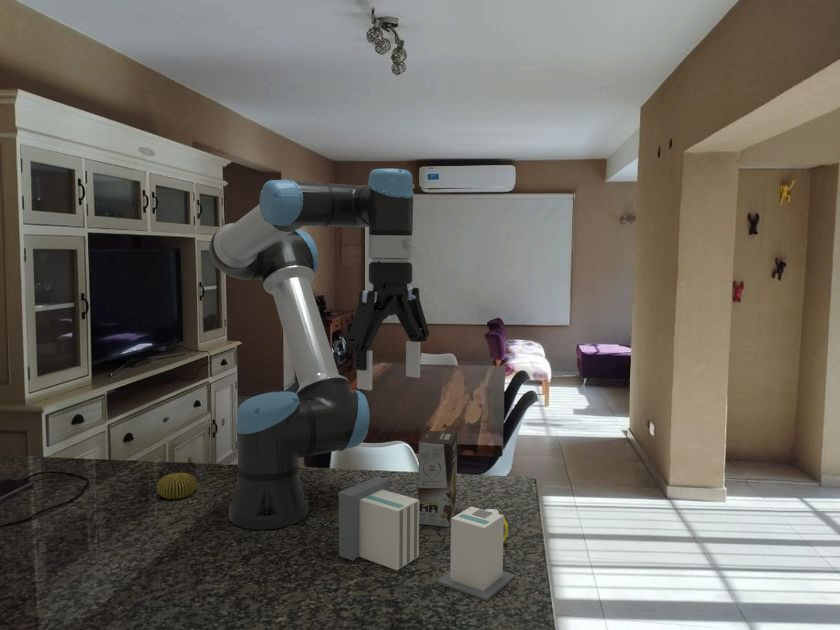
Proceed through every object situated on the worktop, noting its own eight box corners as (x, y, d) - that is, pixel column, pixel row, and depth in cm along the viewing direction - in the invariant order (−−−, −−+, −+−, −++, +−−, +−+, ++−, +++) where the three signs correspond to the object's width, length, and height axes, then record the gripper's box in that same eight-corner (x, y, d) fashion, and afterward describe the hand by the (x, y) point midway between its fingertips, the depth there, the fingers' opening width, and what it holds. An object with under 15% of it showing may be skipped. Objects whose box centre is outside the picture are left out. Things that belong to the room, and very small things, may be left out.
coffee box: (450, 527, 125) (451, 444, 123) (416, 524, 126) (417, 441, 124) (457, 509, 134) (458, 431, 132) (425, 506, 135) (426, 428, 133)
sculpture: (192, 468, 145) (200, 479, 138) (193, 485, 146) (200, 497, 139) (153, 473, 141) (159, 485, 134) (154, 491, 142) (159, 504, 135)
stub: (450, 579, 104) (451, 517, 103) (470, 565, 109) (471, 505, 108) (483, 591, 101) (484, 527, 100) (502, 575, 106) (503, 514, 105)
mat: (436, 583, 104) (436, 580, 104) (467, 561, 111) (467, 559, 111) (486, 601, 99) (486, 598, 99) (515, 577, 106) (515, 575, 106)
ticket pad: (334, 554, 113) (334, 491, 112) (371, 534, 121) (372, 475, 120) (389, 575, 106) (390, 507, 105) (425, 552, 114) (426, 489, 113)
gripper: (359, 262, 102) (359, 398, 104) (448, 260, 122) (447, 374, 124) (323, 261, 106) (324, 391, 108) (415, 259, 126) (414, 369, 128)
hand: (389, 382), depth 116 cm, fingers open, 13 cm apart
